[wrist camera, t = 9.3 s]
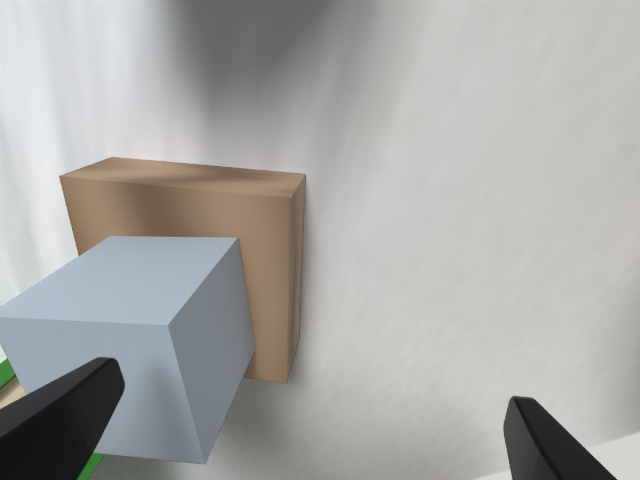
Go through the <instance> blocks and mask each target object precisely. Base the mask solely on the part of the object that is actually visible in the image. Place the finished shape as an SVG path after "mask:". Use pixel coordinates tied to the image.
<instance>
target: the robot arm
mask: <svg viewBox="0 0 640 480" xmlns="http://www.w3.org/2000/svg"><path fill="white" fill-rule="evenodd" d="M124 390H125V381H124V378H123V375H122V372H121V369H120V366H119V363H118V361H117V360H116V359H115V358H110V357H97V358H95V359H93V360H91V361H89V362H88V363H86V364H84V365H82V366H80V367H78V368H76V369H74V370H72V371H71V372H69V373H67V374H65V375H63V376H61V377H59V378H57V379H55V380H54V381H52V382H50V383H48V384H46V385H44V386H42V387H40V388H38V389H37V390H35V391H33V392H31V393H29V394H27V395H25V396H23V397H21V398H20V399H18V400H16V401H14V402H12V403H10V404H8V405H6V406H4V407H3V408H1V409H0V480H77V479H78V478H79V476H80V474H81V473H82V471H83V470H84V468H85V466H86V465H87V463H88V461H89V460H90V458H91V456H92V454H93V452H94V451H95V449H96V447H97V445H98V443H99V441H100V439H101V437H102V435H103V433H104V431H105V429H106V427H107V425H108V423H109V421H110V419H111V417H112V415H113V413H114V411H115V409H116V407H117V405H118V403H119V401H120V399H121V397H122V395H123V393H124ZM503 428H504V438H505V443H506V448H507V453H508V459H509V464H510V469H511V474H512V479H513V480H617V479H616V478H615V477H614V476H613V475H612V474H611V473H610V472H609V471H608V470H607V469H606V468H605V467H604V466H603V465H602V464H601V463H599V461H597V460H596V459H595V458H594V457H593V456H592V455H591V454H590V453H589V452H588V451H587V450H586V449H585V448H584V447H583V446H582V445H581V444H580V443H579V442H578V441H577V440H576V439H575V438H574V437H573V436H572V435H571V434H570V433H569V432H568V431H567V430H566V429H565V428H564V427H563V426H562V425H561V424H560V423H559V422H558V421H557V420H556V419H555V418H554V417H552V416H551V415H550V414H549V413H548V412H547V411H546V410H545V409H544V408H543V407H542V406H541V405H540V404H539V403H538V402H537V401H536V400H535V399H533V398H530V397H520V396H513V397H511V398H510V400H509V404H508V408H507V412H506V416H505V420H504V427H503Z"/></svg>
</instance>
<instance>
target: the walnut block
mask: <svg viewBox="0 0 640 480" xmlns="http://www.w3.org/2000/svg"><path fill="white" fill-rule="evenodd" d="M59 178H60V182H61V186H62V190H63V194H64V198H65V202H66V206H67V210H68V214H69V218H70V222H71V226H72V230H73V234H74V238H75V242H76V246H77V250H78V255H79V256H80V255H82V254H83V253H85V252H86V251H88V250H89V249H91V248H92V247H94V246H95V245H97V244H98V243H100V242H102V241H103V240H105V239H106V238H108V237H109V236H149V237H238V242H239V248H240V255H241V261H242V268H243V274H244V280H245V287H246V293H247V299H248V306H249V312H250V319H251V325H252V331H253V338H254V344H255V350H254V352H253V355H252V357H251V359H250V362H249V364H248V366H247V369H246V371H245V373H244V376H243V377H244V378H251V379H258V380H265V381H272V382H279V383H286V384H287V381H288V377H289V374H290V370H291V367H292V363H293V359H294V356H295V352H296V348H297V345H298V341H299V338H300V312H301V285H302V259H303V233H304V206H305V180H306V174H300V173H288V172H277V171H266V170H254V169H243V168H232V167H220V166H209V165H198V164H186V163H175V162H164V161H152V160H141V159H130V158H118V157H111V158H108V159H105V160H103V161H100V162H97V163H94V164H92V165H89V166H86V167H83V168H80V169H78V170H75V171H72V172H69V173H66V174H64V175H61V176H59Z"/></svg>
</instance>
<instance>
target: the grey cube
mask: <svg viewBox="0 0 640 480" xmlns="http://www.w3.org/2000/svg"><path fill="white" fill-rule="evenodd" d="M0 344H1V346H2V348H3V350H4V352H5V354H6V356H7V358H8V360H9V362H10V364H11V366H12V368H13V370H14V372H15V374H16V376H17V378H18V380H19V382H20V384H21V386H22V387H23V389H24V391H25V393H26V395H27V394H29V393H31V392H33V391H35V390H37V389H38V388H40V387H42V386H44V385H46V384H48V383H50V382H52V381H54V380H55V379H57V378H59V377H61V376H63V375H65V374H67V373H69V372H71V371H72V370H74V369H76V368H78V367H80V366H82V365H84V364H86V363H88V362H89V361H91V360H93V359H95V358H97V357H110V358H115V359H116V360H117V361H118V363H119V366H120V369H121V372H122V375H123V378H124V381H125V390H124V393H123V395H122V397H121V399H120V401H119V403H118V405H117V407H116V409H115V411H114V413H113V415H112V417H111V419H110V421H109V423H108V425H107V427H106V429H105V431H104V433H103V435H102V437H101V439H100V441H99V443H98V445H97V447H96V449H95V451H94V452H93V453H101V454H110V455H120V456H129V457H139V458H148V459H158V460H168V461H177V462H187V463H196V464H206V462H207V459H208V457H209V455H210V452H211V450H212V448H213V445H214V443H215V441H216V438H217V436H218V434H219V431H220V429H221V427H222V424H223V422H224V420H225V417H226V415H227V413H228V410H229V408H230V406H231V403H232V401H233V399H234V397H235V394H236V392H237V390H238V387H239V385H240V383H241V380H242V378H243V376H244V373H245V371H246V369H247V366H248V364H249V362H250V359H251V357H252V355H253V352H254V350H255V344H254V338H253V331H252V325H251V319H250V312H249V306H248V299H247V293H246V287H245V280H244V274H243V268H242V261H241V255H240V248H239V242H238V237H149V236H109V237H108V238H106V239H105V240H103V241H102V242H100V243H98V244H97V245H95V246H94V247H92V248H91V249H89V250H88V251H86V252H85V253H83V254H82V255H80V256H78V257H77V258H75V259H74V260H72V261H71V262H69V263H68V264H66V265H65V266H63V267H62V268H60V269H59V270H57V271H55V272H54V273H52V274H51V275H49V276H48V277H46V278H45V279H43V280H42V281H40V282H39V283H37V284H35V285H34V286H32V287H31V288H29V289H28V290H26V291H25V292H23V293H22V294H20V295H19V296H17V297H15V298H14V299H12V300H11V301H9V302H8V303H6V304H5V305H3V306H2V307H0Z"/></svg>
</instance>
